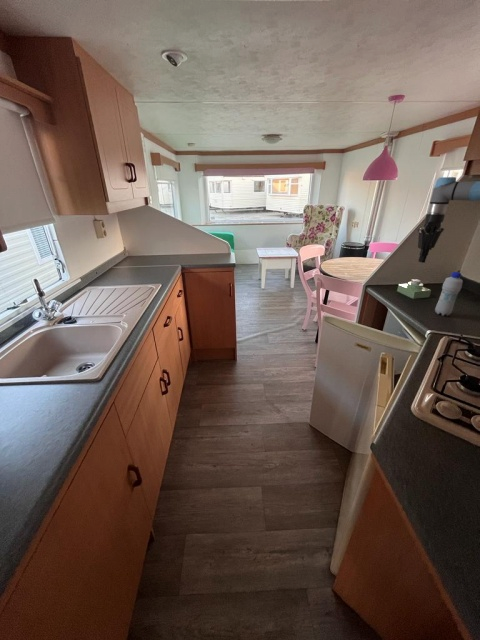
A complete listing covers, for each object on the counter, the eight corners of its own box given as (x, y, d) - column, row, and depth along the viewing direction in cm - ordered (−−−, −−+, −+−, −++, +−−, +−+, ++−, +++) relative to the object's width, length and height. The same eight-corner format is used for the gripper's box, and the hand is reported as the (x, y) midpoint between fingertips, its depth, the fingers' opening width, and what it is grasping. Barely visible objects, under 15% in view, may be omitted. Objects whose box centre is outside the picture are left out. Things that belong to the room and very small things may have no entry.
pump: (421, 285, 142) (422, 281, 141) (414, 285, 142) (416, 281, 141) (415, 283, 146) (416, 278, 145) (409, 283, 145) (410, 279, 144)
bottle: (433, 309, 127) (446, 269, 118) (450, 312, 124) (465, 271, 115) (433, 315, 122) (448, 273, 113) (451, 318, 119) (467, 275, 110)
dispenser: (429, 297, 142) (432, 286, 139) (412, 298, 140) (416, 288, 137) (412, 289, 152) (415, 279, 150) (396, 291, 151) (399, 281, 148)
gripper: (440, 212, 132) (426, 259, 143) (418, 213, 130) (405, 260, 140) (454, 213, 125) (438, 262, 136) (430, 214, 123) (416, 264, 134)
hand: (421, 261), depth 138 cm, fingers closed
